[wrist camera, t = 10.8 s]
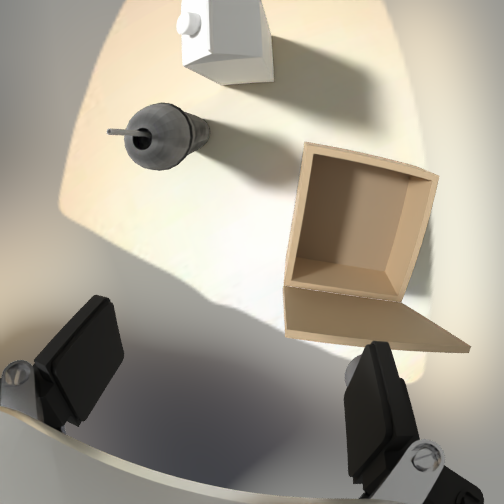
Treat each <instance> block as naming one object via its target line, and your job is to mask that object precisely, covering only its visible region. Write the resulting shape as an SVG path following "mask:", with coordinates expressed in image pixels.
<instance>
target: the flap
mask: <svg viewBox="0 0 504 504" xmlns="http://www.w3.org/2000/svg"><path fill="white" fill-rule="evenodd" d="M283 303H284V321H285V337H287V338H293V339H300V340H308V341H315V342H323V343H331V344H340V345H349V346H358V347H365V346H366V345H367V344H371V342H372V341H384V342H388V343H389V345H390V348H391V349H392V350H406V351H423V352H445V353H469V351H470V348H471V346H469V345H468V344H466V343H465V342H463V341H462V340H460V339H459V338H457V337H456V336H454V335H452V334H451V333H449V332H448V331H446V330H445V329H443V328H441V327H440V326H438V325H437V324H435V323H433V322H432V321H430V320H429V319H427V318H425V317H424V316H422V315H421V314H419V313H417V312H416V311H414V310H413V309H411V308H409V307H408V306H406V305H404V304H403V303H401V302H393V301H385V300H378V299H371V298H363V297H356V296H349V295H342V294H335V293H329V292H322V291H315V290H309V289H302V288H296V287H289V286H283ZM361 356H362V354H361V355H359V356H357V357H355V358H354V359H353V360H352V361H351V362H350V363H349V365H348V367H347V369H346V372H345V383H346V386H347V387H348V385H349V383H350V381H351V378H352V376H353V374H354V372H355V369H356V367H357V365H358V363H359V360H360V358H361Z"/></svg>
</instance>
